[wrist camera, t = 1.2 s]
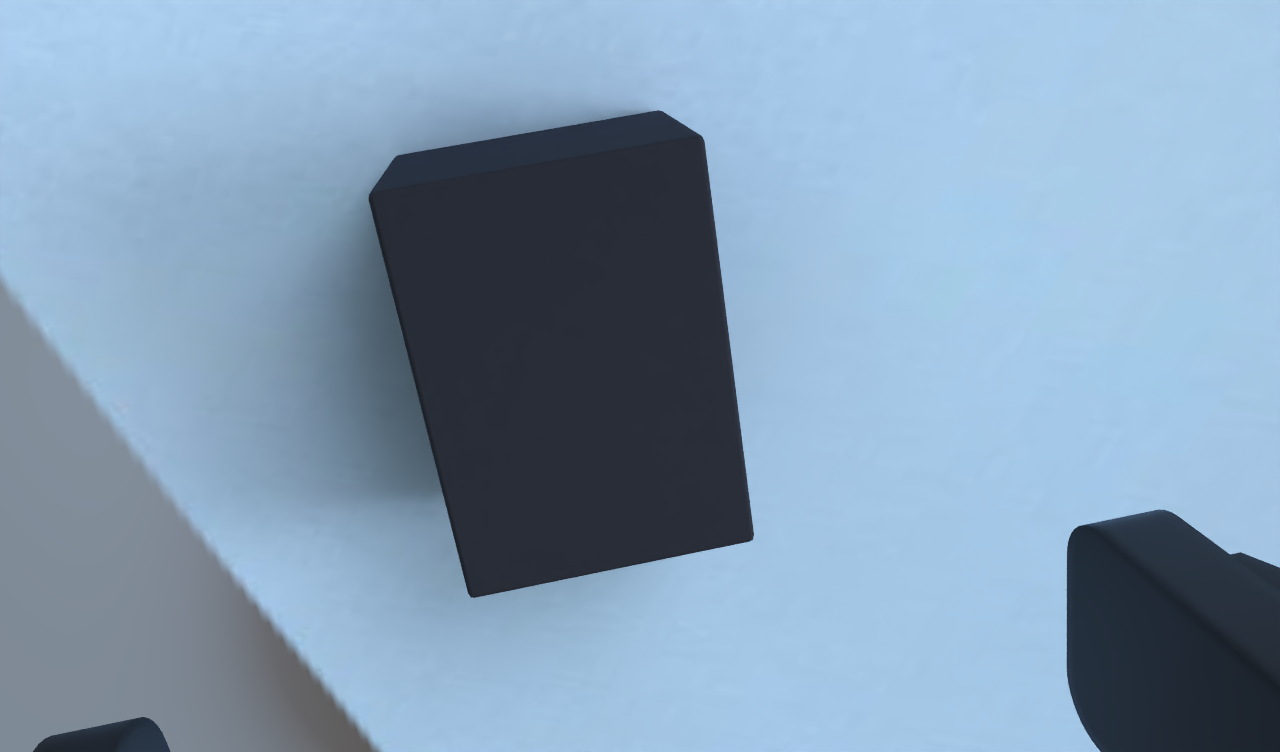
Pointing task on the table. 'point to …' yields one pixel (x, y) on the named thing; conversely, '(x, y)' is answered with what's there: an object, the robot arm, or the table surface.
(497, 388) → the black box
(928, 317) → the table surface
